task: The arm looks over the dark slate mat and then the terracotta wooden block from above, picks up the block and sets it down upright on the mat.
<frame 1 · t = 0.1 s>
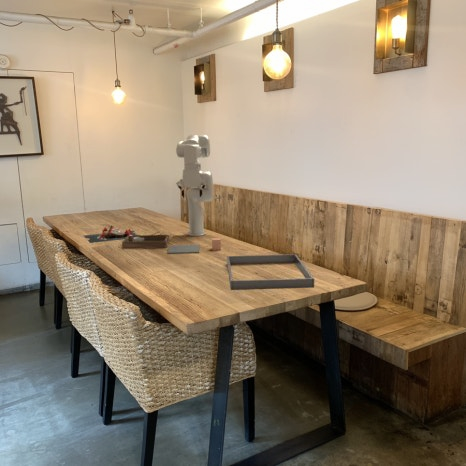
hand: (192, 197, 265), 31 cm above the table, tool pointing down, fingers open, 9 cm apart
platter: (113, 237, 313), on the table
charcoal rectangular open frame: (266, 274, 220), on the table
slate mat: (184, 249, 272), on the table
terracotta block: (216, 249, 273), on the table
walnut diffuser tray: (146, 244, 287), on the table
reed diffuser: (148, 244, 289), resting in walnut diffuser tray
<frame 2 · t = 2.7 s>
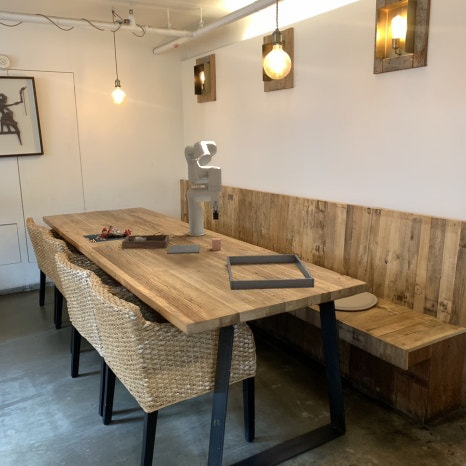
hand: (215, 218, 269), 18 cm above the table, tool pointing down, fingers open, 9 cm apart
reed diffuser: (150, 243, 289), resting in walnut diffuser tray
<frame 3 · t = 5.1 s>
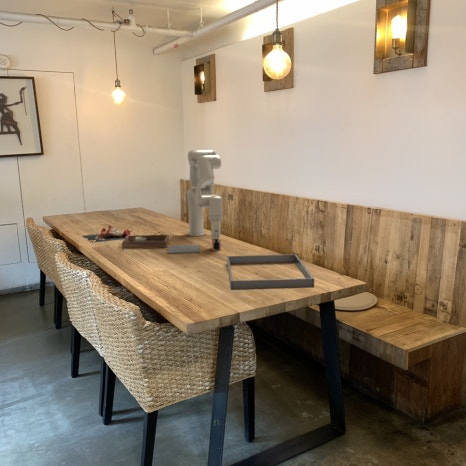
hand: (216, 247, 273), 1 cm above the table, tool pointing down, fingers closed on terracotta block, 5 cm apart
terracotta block: (216, 248, 273), on the table, touching gripper
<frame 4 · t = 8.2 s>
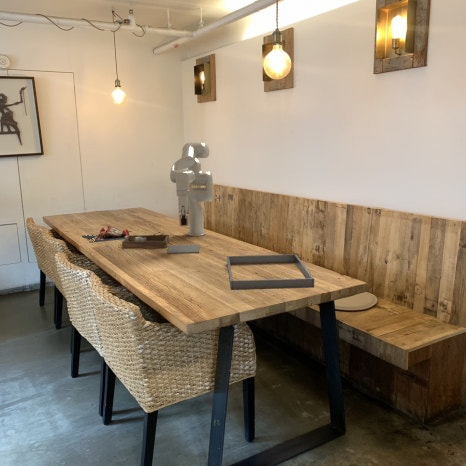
hand: (184, 223, 269), 15 cm above the table, tool pointing down, fingers closed on terracotta block, 5 cm apart
terracotta block: (184, 225, 269), point 15 cm above the table, touching gripper
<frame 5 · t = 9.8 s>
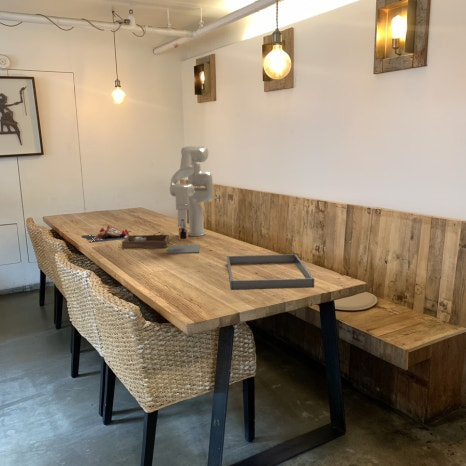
hand: (183, 237, 270), 7 cm above the table, tool pointing down, fingers closed on terracotta block, 5 cm apart
terracotta block: (183, 238, 271), point 7 cm above the table, touching gripper
when the fingers open (3 cm above the table, at t = 11.1 s): terracotta block drops 1 cm, resting on slate mat.
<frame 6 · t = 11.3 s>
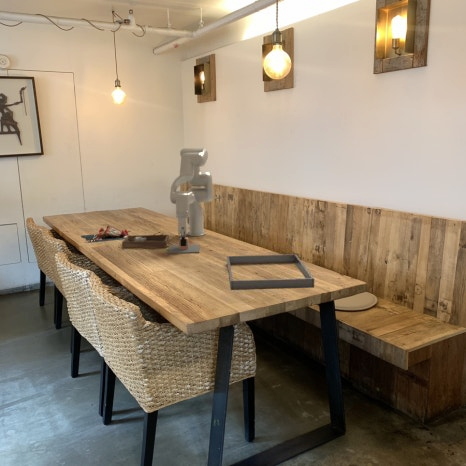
hand: (183, 244, 271), 3 cm above the table, tool pointing down, fingers open, 7 cm apart
terracotta block: (184, 248, 272), point 1 cm above the table, touching slate mat
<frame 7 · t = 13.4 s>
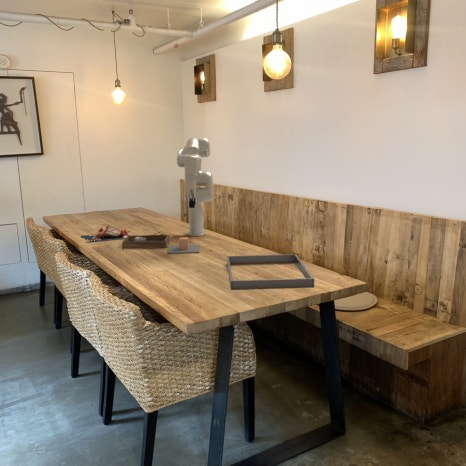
hand: (192, 206, 273), 25 cm above the table, tool pointing down, fingers open, 9 cm apart
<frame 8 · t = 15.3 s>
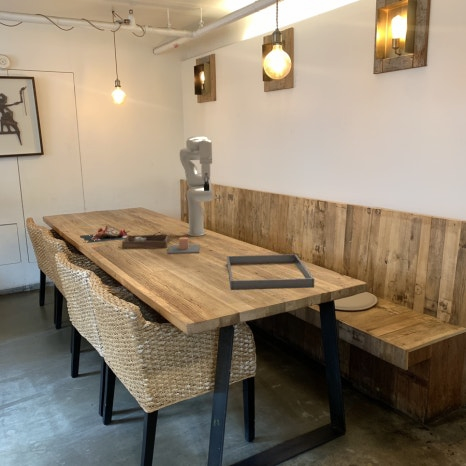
hand: (206, 189, 280), 33 cm above the table, tool pointing down, fingers open, 9 cm apart
at the end: terracotta block inside the target area on the slate mat (0.1 cm from its centre), point 0.8 cm above the slate mat's base; terracotta block tilted 0°; the gripper is holding nothing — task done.
